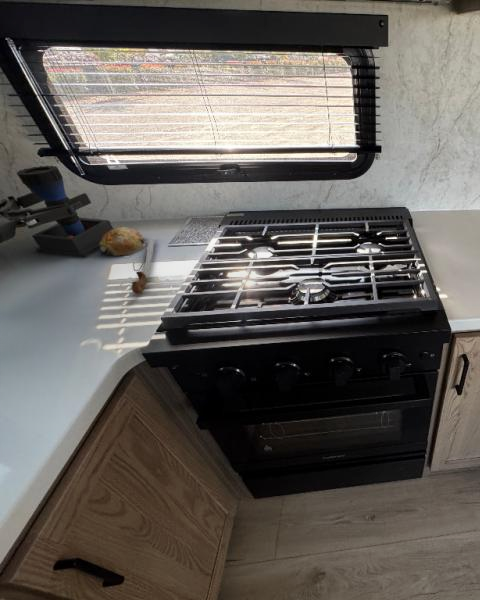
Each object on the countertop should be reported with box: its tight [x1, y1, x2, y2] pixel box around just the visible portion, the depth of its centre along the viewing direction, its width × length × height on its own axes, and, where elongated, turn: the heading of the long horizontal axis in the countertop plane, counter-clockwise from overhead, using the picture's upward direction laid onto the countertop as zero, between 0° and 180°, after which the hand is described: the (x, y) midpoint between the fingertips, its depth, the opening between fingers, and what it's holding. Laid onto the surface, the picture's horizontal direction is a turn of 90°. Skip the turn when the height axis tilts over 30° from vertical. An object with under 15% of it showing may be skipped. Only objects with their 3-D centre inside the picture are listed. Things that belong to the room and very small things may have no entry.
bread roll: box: [99, 226, 146, 257], centre depth 99 cm, size 10×10×8 cm
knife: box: [131, 239, 155, 294], centre depth 91 cm, size 4×1×30 cm
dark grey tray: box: [31, 216, 114, 258], centre depth 100 cm, size 15×13×6 cm
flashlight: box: [16, 165, 85, 237], centre depth 94 cm, size 8×8×20 cm
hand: (65, 196), depth 96 cm, fingers open, 13 cm apart
